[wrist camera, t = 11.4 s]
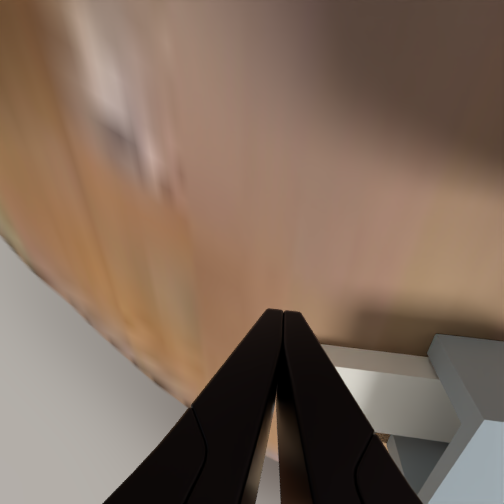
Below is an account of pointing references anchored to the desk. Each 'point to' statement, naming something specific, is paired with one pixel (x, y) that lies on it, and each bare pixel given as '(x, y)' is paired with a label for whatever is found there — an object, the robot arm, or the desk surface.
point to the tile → (397, 392)
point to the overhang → (461, 428)
